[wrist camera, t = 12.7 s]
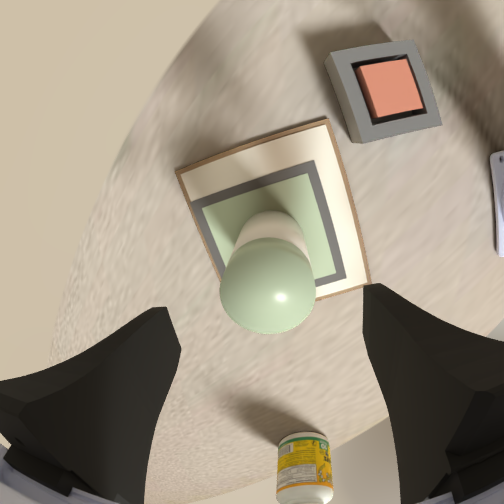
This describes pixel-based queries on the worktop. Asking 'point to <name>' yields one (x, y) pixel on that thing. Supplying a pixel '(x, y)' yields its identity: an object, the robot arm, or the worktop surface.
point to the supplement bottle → (304, 469)
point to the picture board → (282, 201)
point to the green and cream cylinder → (269, 275)
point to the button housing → (354, 102)
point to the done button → (388, 88)
